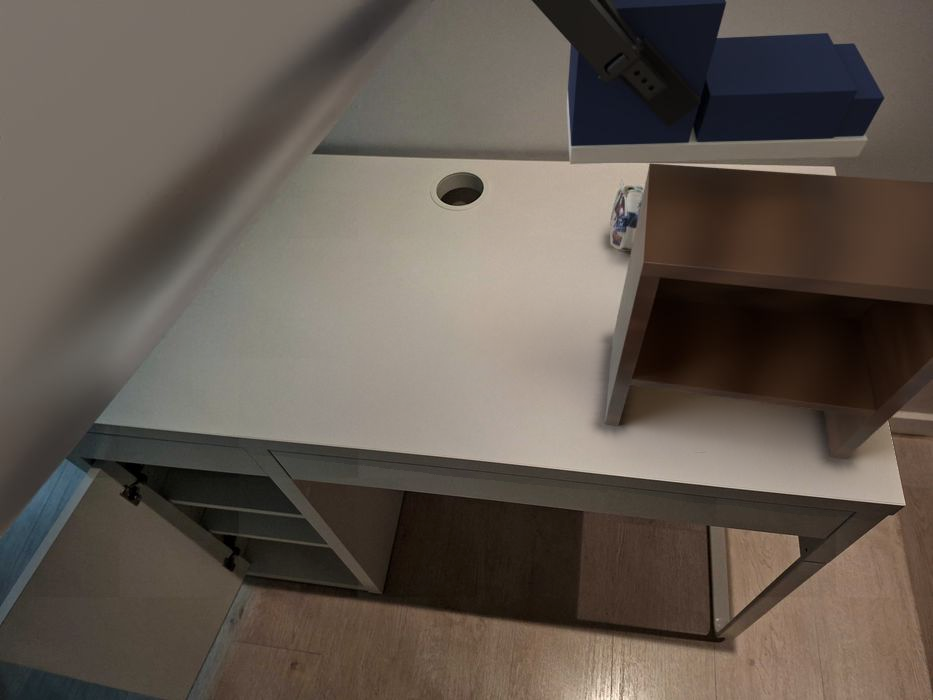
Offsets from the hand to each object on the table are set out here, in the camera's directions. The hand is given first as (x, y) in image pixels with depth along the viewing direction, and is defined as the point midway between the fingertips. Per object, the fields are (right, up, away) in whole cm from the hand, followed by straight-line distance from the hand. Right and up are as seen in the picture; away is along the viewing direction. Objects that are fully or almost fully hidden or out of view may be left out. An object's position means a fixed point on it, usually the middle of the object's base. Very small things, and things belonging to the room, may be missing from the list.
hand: (675, 79), depth 46 cm
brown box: (+14, -26, +25) cm, 39 cm away
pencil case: (+15, -6, +39) cm, 42 cm away
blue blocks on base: (+3, -3, +3) cm, 6 cm away
